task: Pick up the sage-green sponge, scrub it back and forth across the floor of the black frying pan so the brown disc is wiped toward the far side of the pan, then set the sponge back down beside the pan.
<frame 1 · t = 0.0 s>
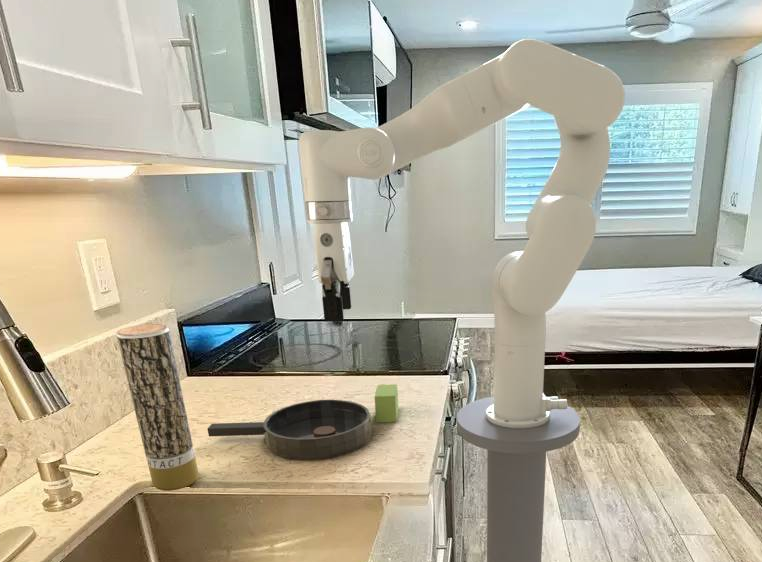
hand: (338, 314, 101), 22 cm above the worktop, tool pointing down, fingers open, 9 cm apart
brown disc: (324, 434, 106), resting on pan
sponge: (387, 415, 116), on the worktop
pan: (319, 437, 107), on the worktop
paper tube: (177, 483, 92), on the worktop
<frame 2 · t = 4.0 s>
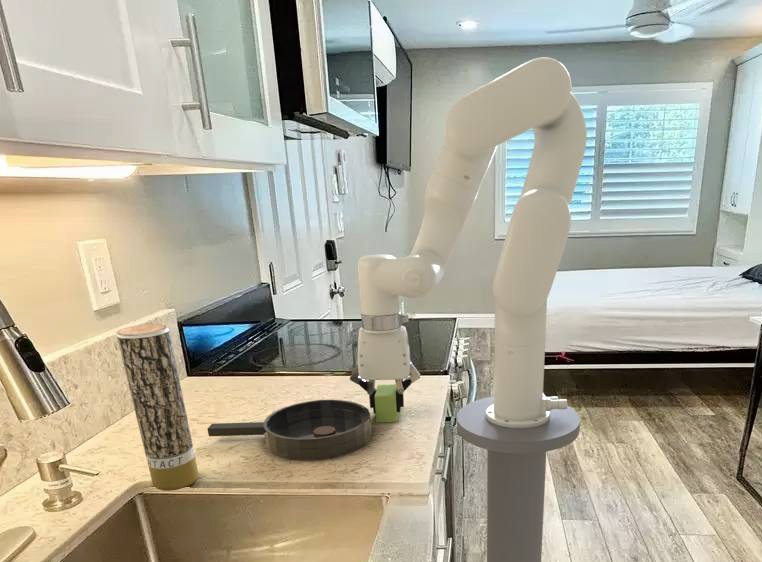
hand: (387, 409, 116), 1 cm above the worktop, tool pointing down, fingers closed on sponge, 4 cm apart
sponge: (387, 415, 116), on the worktop, touching gripper
everything else where it was.
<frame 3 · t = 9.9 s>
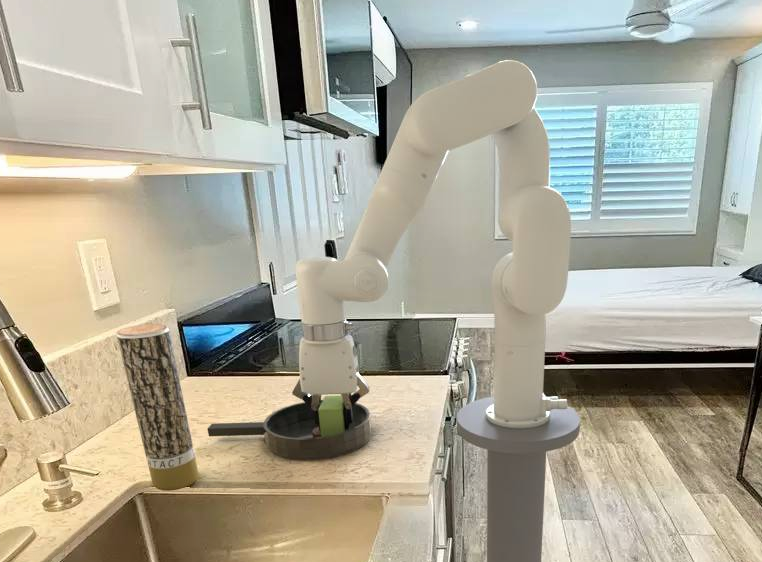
hand: (335, 426, 106), 2 cm above the worktop, tool pointing down, fingers closed on sponge, 4 cm apart
sponge: (335, 429, 106), point 2 cm above the worktop, touching gripper
everything else where it was.
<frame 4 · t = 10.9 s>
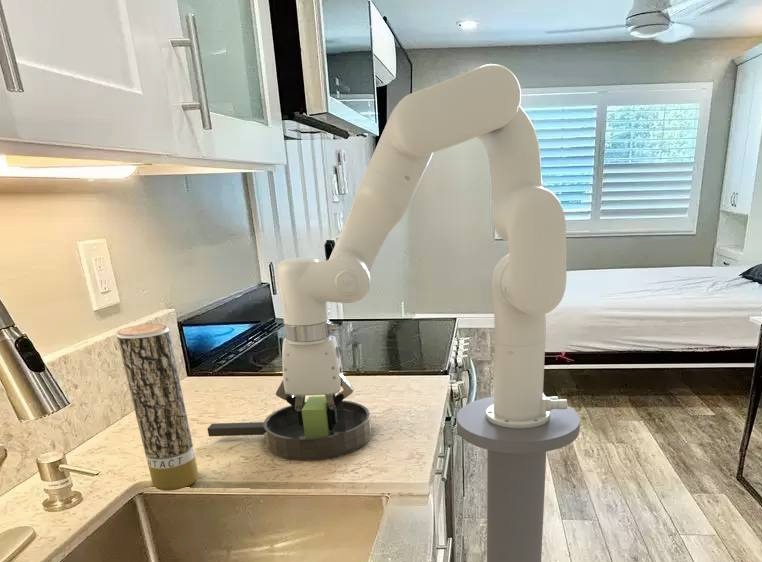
hand: (319, 427, 106), 2 cm above the worktop, tool pointing down, fingers closed on sponge, 4 cm apart
brown disc: (318, 435, 106), resting on pan, touching sponge
sponge: (319, 430, 106), point 1 cm above the worktop, touching brown disc, gripper
everything else where it was.
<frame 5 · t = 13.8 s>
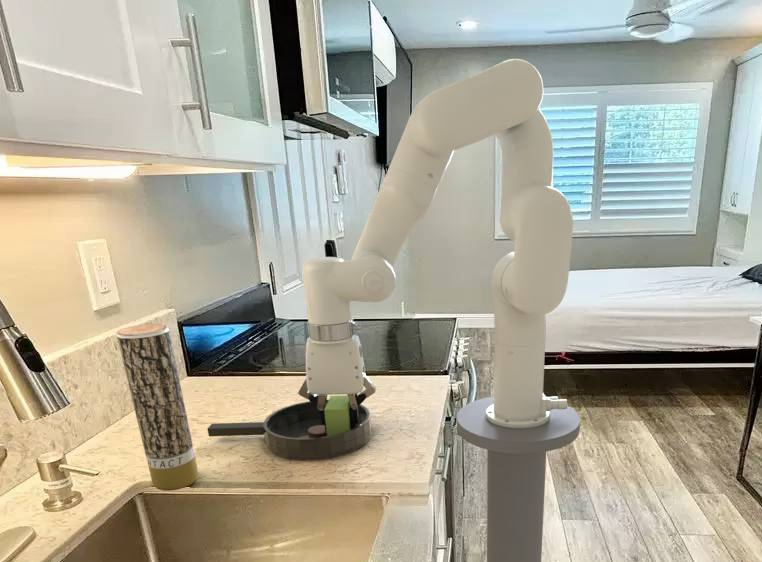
hand: (340, 426, 106), 2 cm above the worktop, tool pointing down, fingers closed on sponge, 4 cm apart
brown disc: (319, 434, 107), point 1 cm above the worktop, touching pan
sponge: (341, 429, 106), point 1 cm above the worktop, touching gripper
everything else where it was.
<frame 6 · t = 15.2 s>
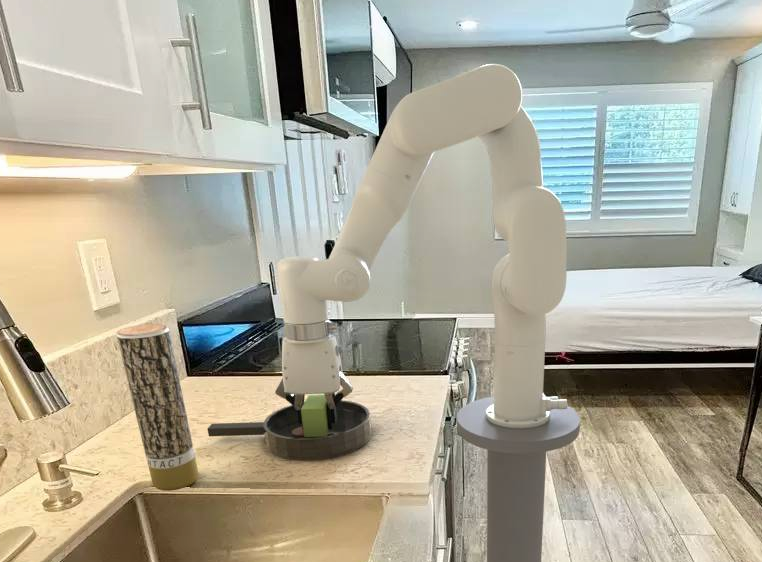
hand: (318, 425, 106), 2 cm above the worktop, tool pointing down, fingers closed on sponge, 4 cm apart
brown disc: (303, 435, 106), resting on pan
sponge: (319, 429, 106), point 2 cm above the worktop, touching gripper
everything else where it was.
when the fingers open (1 cm above the worktop, at t = 22.3 s): sponge stays where it is, on the worktop.
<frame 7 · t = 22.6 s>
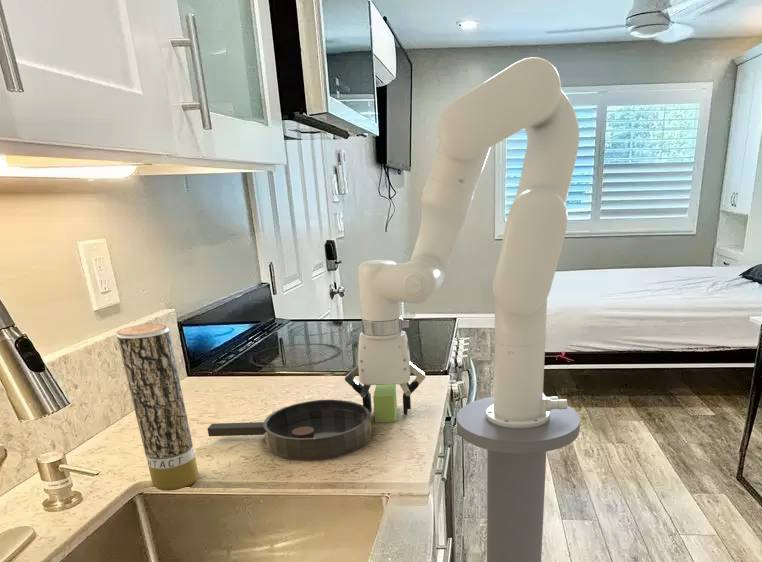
hand: (387, 412, 116), 1 cm above the worktop, tool pointing down, fingers open, 6 cm apart
sponge: (386, 415, 116), on the worktop
everything else where it was.
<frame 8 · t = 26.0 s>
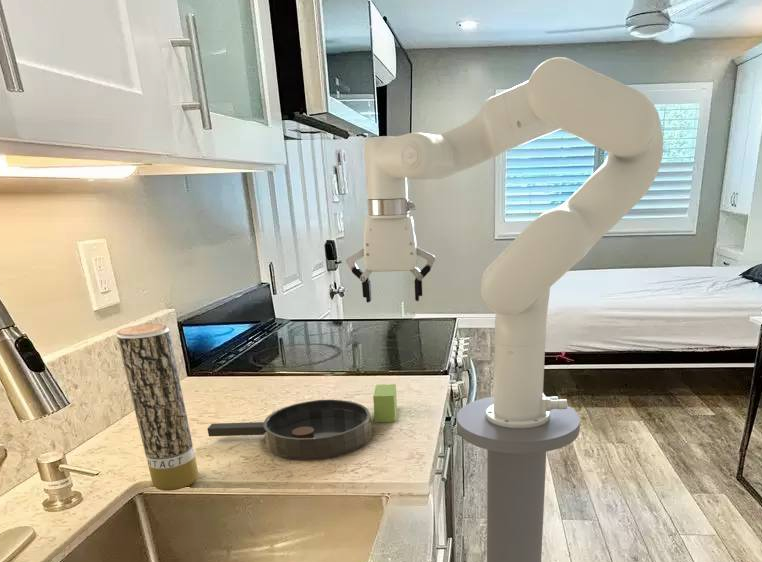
hand: (393, 300, 113), 22 cm above the worktop, tool pointing down, fingers open, 9 cm apart
nothing on the worktop moved.
at the end: brown disc moved 4.0 cm from its start; brown disc inside the target area in the pan (3.0 cm from its centre), point 0.5 cm above the pan's base; sponge inside the target area (0.3 cm from its centre), on the worktop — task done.
